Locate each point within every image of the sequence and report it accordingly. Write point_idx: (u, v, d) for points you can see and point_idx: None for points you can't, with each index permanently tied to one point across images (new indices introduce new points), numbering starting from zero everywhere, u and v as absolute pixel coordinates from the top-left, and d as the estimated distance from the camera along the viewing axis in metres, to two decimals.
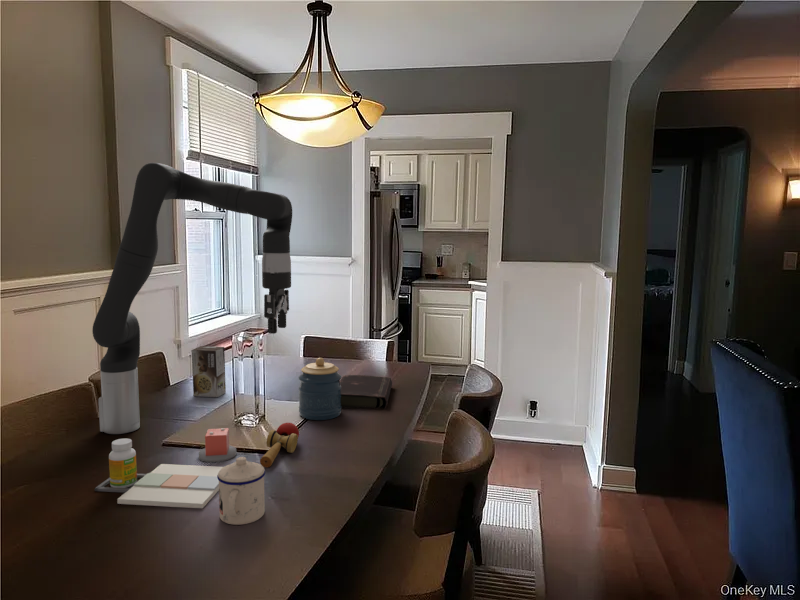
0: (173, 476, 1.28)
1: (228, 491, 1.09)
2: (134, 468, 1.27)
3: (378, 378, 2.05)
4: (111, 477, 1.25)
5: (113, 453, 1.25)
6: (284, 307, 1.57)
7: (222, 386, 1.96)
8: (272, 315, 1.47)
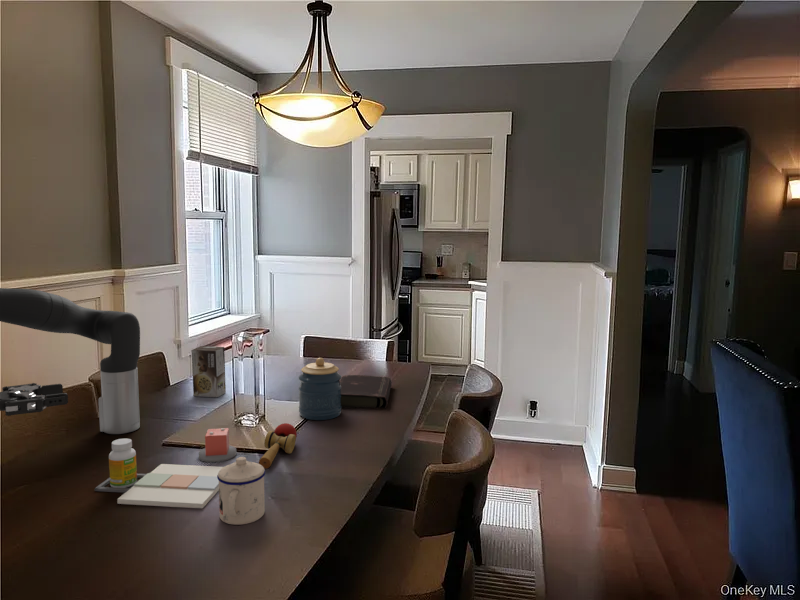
0: (173, 476, 1.28)
1: (228, 491, 1.09)
2: (134, 468, 1.27)
3: (377, 378, 2.05)
4: (111, 477, 1.25)
5: (113, 453, 1.25)
6: None
7: (222, 386, 1.96)
8: None
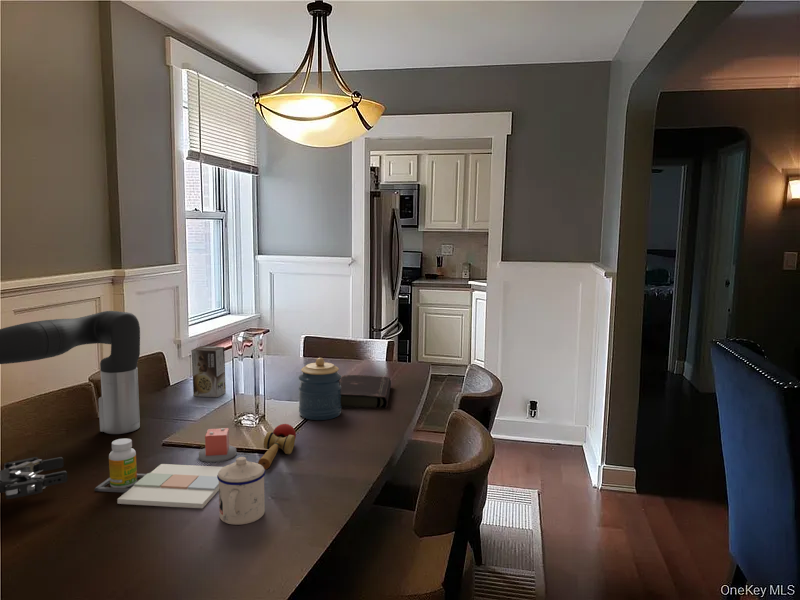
0: (173, 476, 1.28)
1: (228, 491, 1.09)
2: (134, 468, 1.27)
3: (377, 378, 2.05)
4: (111, 477, 1.25)
5: (113, 453, 1.25)
6: None
7: (222, 386, 1.96)
8: None
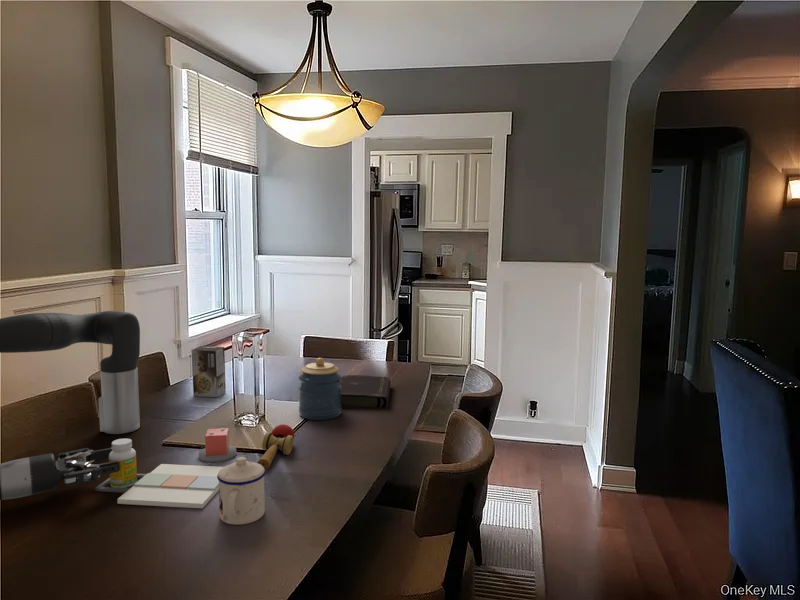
0: (173, 476, 1.28)
1: (228, 491, 1.09)
2: (134, 468, 1.27)
3: (376, 378, 2.05)
4: (111, 477, 1.25)
5: (113, 453, 1.25)
6: None
7: (222, 386, 1.96)
8: None
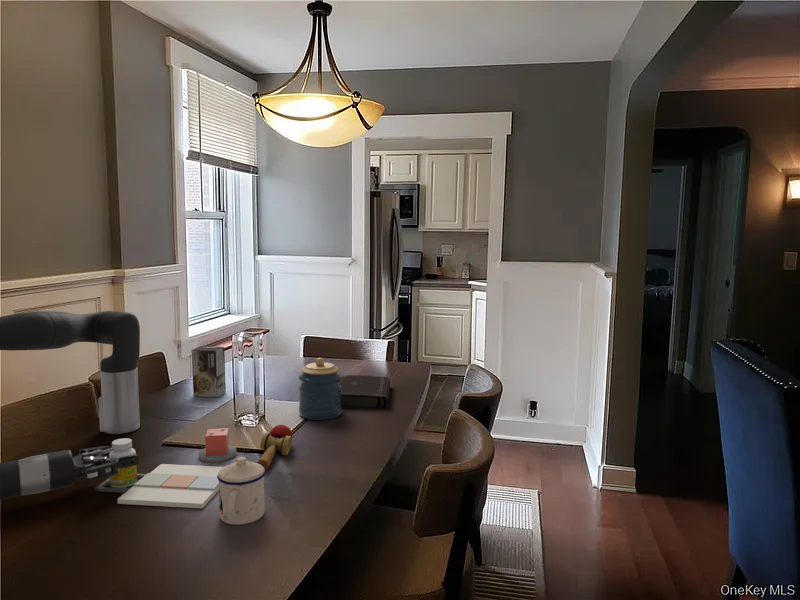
0: (173, 476, 1.28)
1: (228, 491, 1.09)
2: (134, 468, 1.27)
3: (376, 378, 2.05)
4: (111, 477, 1.25)
5: (113, 453, 1.25)
6: None
7: (222, 386, 1.96)
8: None
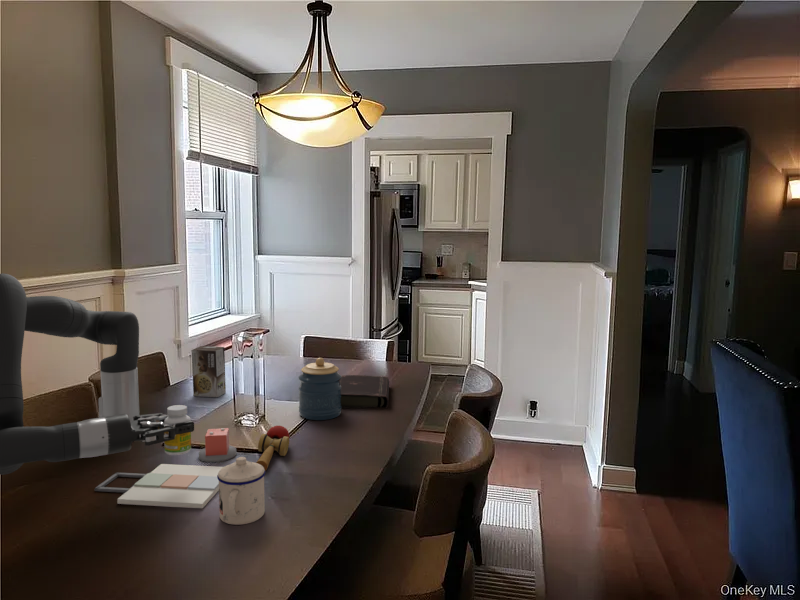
0: (173, 476, 1.28)
1: (228, 491, 1.09)
2: (189, 435, 1.24)
3: (375, 378, 2.05)
4: (166, 443, 1.23)
5: (169, 419, 1.23)
6: None
7: (222, 386, 1.96)
8: None
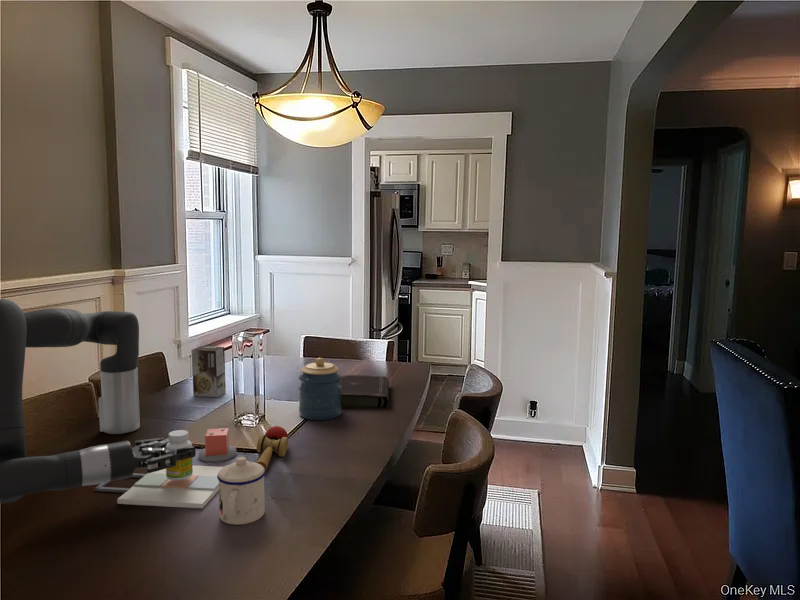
0: None
1: (228, 491, 1.09)
2: (190, 460, 1.25)
3: (375, 378, 2.05)
4: (168, 469, 1.24)
5: (170, 445, 1.23)
6: None
7: (222, 386, 1.96)
8: None
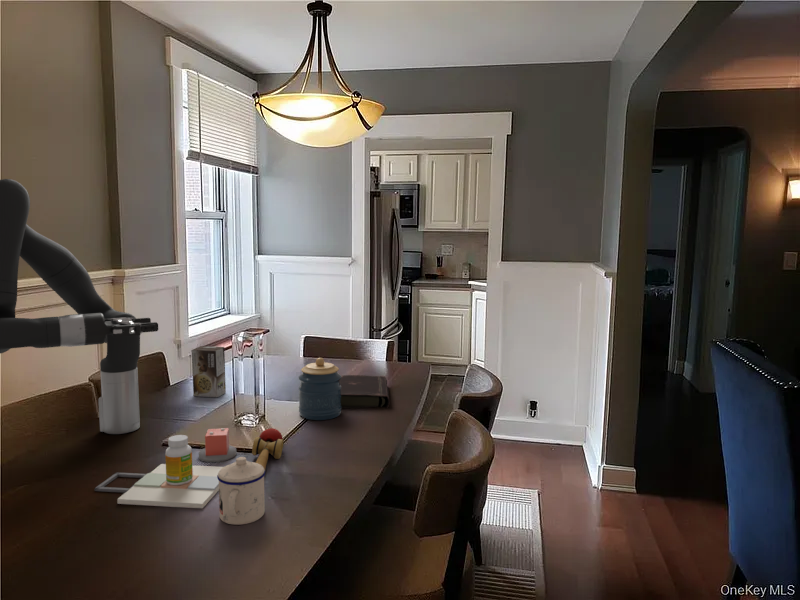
0: None
1: (228, 491, 1.09)
2: (190, 465, 1.25)
3: (373, 378, 2.05)
4: (168, 474, 1.24)
5: (170, 450, 1.24)
6: None
7: (222, 386, 1.96)
8: None
